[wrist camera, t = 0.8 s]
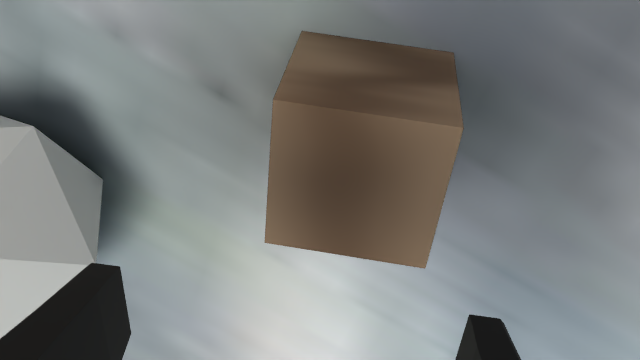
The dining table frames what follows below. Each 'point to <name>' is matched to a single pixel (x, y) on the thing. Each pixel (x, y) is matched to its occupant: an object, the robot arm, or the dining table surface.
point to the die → (42, 220)
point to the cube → (362, 148)
